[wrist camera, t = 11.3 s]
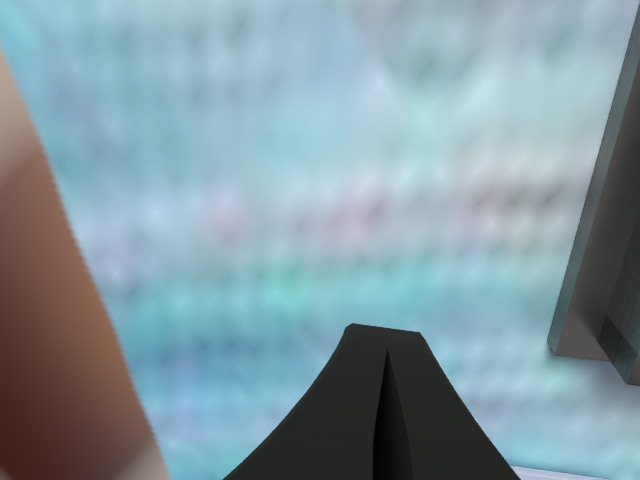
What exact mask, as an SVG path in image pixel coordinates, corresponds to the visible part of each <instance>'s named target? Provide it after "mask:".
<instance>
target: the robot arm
mask: <svg viewBox="0 0 640 480" xmlns="http://www.w3.org/2000/svg"><path fill="white" fill-rule="evenodd" d="M223 480H609V479H602V478H595V477H588V476H581V475H574V474H567V473H560V472H553V471H546V470H539V469H531V468H524V467H517V466H510V465H509V464H508V463H507V462H506V460H505V459H504V458H503V457H502V455H501V454H500V453H499V451H498V450H497V449H496V447H495V446H494V445H493V444H492V442H491V441H490V440H489V438H488V437H487V436H486V434H485V433H484V432H483V430H482V429H481V427H480V426H479V425H478V423H477V422H476V421H475V419H474V418H473V416H472V415H471V413H470V412H469V410H468V409H467V407H466V406H465V404H464V403H463V401H462V400H461V398H460V397H459V396H458V394H457V393H456V391H455V389H454V388H453V386H452V385H451V383H450V382H449V380H448V378H447V377H446V375H445V373H444V372H443V370H442V369H441V367H440V365H439V363H438V362H437V360H436V358H435V357H434V355H433V353H432V351H431V350H430V348H429V346H428V344H427V342H426V340H425V339H424V337H423V336H422V335H421V333H420V332H413V331H406V330H398V329H391V328H383V327H376V326H368V325H361V324H354V323H352V324H350V325H349V326H347V327H346V328H345V330H344V333H343V336H342V338H341V340H340V342H339V344H338V346H337V348H336V349H335V351H334V353H333V354H332V356H331V358H330V359H329V361H328V362H327V364H326V365H325V367H324V368H323V370H322V371H321V372H320V374H319V375H318V377H317V378H316V379H315V381H314V382H313V384H312V385H311V387H310V388H309V389H308V390H307V392H306V393H305V394H304V395H303V397H302V398H301V399H300V400H299V401H298V403H297V404H296V405H295V406H294V407H293V409H292V410H291V411H290V412H289V413H288V415H287V416H286V417H285V418H284V419H283V421H282V422H281V423H280V424H279V425H278V426H277V427H276V428H275V429H274V430H273V431H272V433H271V434H270V435H269V436H268V437H267V438H266V439H265V440H264V441H263V442H262V443H261V444H260V445H259V446H258V447H257V448H256V449H255V450H254V451H253V452H252V453H251V454H250V455H249V456H248V457H247V458H246V459H245V460H244V461H243V462H242V463H241V464H239V465H238V466H237V467H236V468H235V469H234V470H233V471H232V472H231V473H229V474H228V475H227V476H226V477H225V478H224V479H223Z"/></svg>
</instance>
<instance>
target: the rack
mask: <svg viewBox="0 0 640 480" xmlns="http://www.w3.org/2000/svg"><path fill="white" fill-rule="evenodd" d="M547 341H548V343H549V345H550V347H551V348H552V350H553V352H554V354H555V355H559V356H567V357H576V358H584V359H592V360H601V361H609V362H612V364H613V365H614V367H615V368H616V370H617V371H618V373H619V374H620V376H621V377H622V378H623V380H624V381H625V383H626V384H628V385H636V386H640V5H639V9H638V12H637V16H636V20H635V23H634V27H633V30H632V34H631V38H630V41H629V45H628V49H627V52H626V56H625V60H624V63H623V67H622V70H621V74H620V78H619V81H618V85H617V89H616V92H615V96H614V100H613V103H612V107H611V111H610V114H609V118H608V121H607V125H606V129H605V132H604V136H603V140H602V143H601V147H600V151H599V154H598V158H597V161H596V165H595V169H594V172H593V176H592V180H591V183H590V187H589V191H588V194H587V198H586V202H585V205H584V209H583V212H582V216H581V220H580V223H579V227H578V231H577V234H576V238H575V242H574V245H573V249H572V252H571V256H570V260H569V263H568V267H567V271H566V274H565V278H564V282H563V285H562V289H561V293H560V296H559V300H558V303H557V307H556V311H555V314H554V318H553V322H552V325H551V329H550V333H549V336H548V340H547Z"/></svg>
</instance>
